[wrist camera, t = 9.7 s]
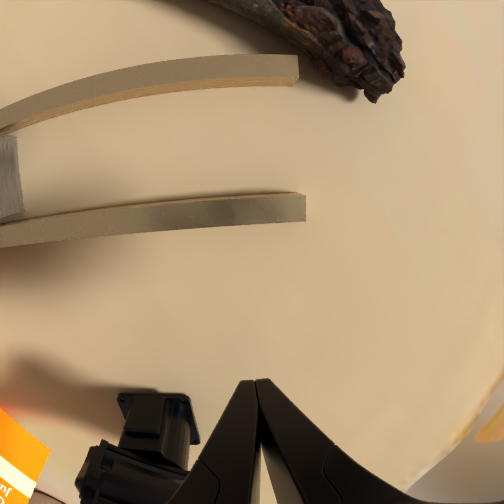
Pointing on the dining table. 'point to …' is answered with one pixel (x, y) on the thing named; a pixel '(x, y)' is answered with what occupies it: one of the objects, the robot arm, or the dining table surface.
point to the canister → (42, 499)
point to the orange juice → (18, 461)
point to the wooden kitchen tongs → (167, 212)
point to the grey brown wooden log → (335, 38)
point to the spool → (9, 178)
